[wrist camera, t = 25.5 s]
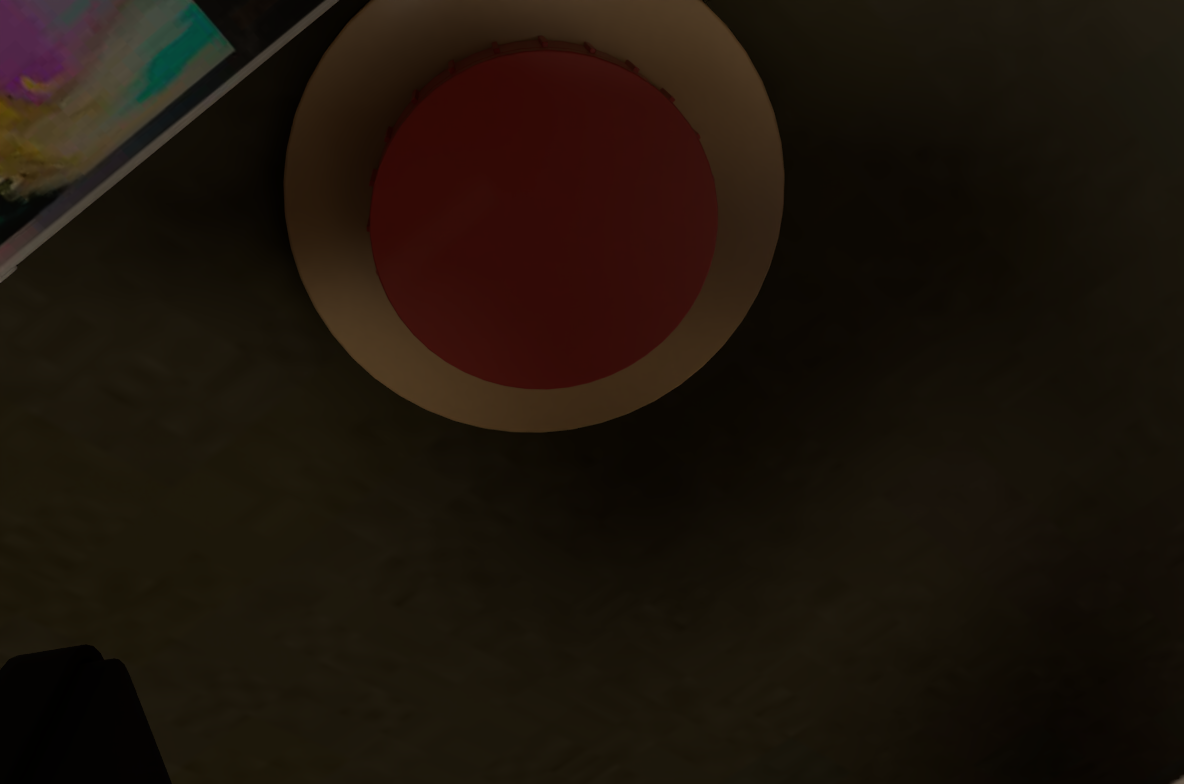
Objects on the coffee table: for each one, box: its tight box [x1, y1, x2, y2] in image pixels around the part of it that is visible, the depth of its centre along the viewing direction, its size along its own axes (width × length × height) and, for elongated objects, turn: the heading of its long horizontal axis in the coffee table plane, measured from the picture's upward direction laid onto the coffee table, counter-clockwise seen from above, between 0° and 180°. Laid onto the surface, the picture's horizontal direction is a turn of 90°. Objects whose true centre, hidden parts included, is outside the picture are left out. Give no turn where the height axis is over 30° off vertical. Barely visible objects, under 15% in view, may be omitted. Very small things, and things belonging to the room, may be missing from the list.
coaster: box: [283, 0, 785, 432], centre depth 21 cm, size 10×10×1 cm
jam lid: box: [367, 35, 718, 390], centre depth 20 cm, size 7×7×1 cm
